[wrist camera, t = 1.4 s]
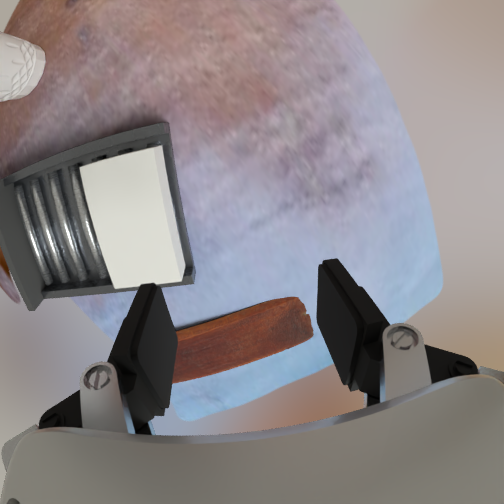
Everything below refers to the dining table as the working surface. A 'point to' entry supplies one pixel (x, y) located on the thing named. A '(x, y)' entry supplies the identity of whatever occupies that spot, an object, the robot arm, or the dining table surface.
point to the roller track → (72, 220)
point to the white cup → (19, 67)
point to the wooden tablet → (241, 338)
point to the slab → (134, 218)
